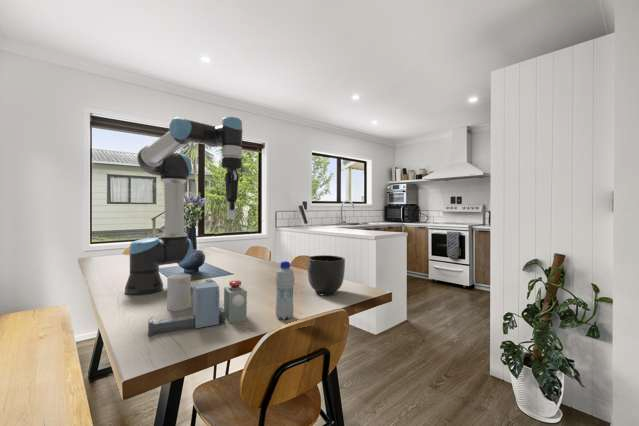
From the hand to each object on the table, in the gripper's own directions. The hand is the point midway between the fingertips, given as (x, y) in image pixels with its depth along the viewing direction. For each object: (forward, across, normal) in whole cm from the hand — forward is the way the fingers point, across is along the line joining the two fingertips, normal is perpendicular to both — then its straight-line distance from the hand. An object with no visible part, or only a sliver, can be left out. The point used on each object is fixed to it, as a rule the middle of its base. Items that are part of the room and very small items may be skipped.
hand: (231, 218), depth 121 cm
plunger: (+30, +14, -2) cm, 33 cm away
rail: (+34, +16, -17) cm, 42 cm away
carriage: (+34, +16, -12) cm, 40 cm away
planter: (+35, +1, +43) cm, 55 cm away
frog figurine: (+35, -19, -6) cm, 40 cm away
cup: (+35, -6, -18) cm, 39 cm away
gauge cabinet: (+34, +14, -2) cm, 37 cm away
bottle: (+35, +22, +14) cm, 43 cm away
